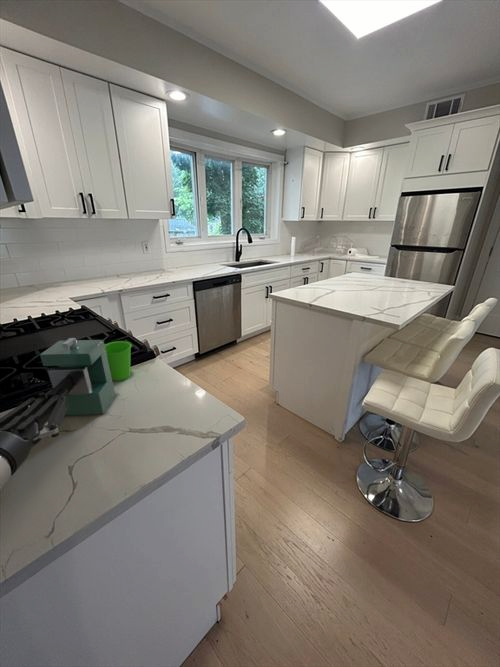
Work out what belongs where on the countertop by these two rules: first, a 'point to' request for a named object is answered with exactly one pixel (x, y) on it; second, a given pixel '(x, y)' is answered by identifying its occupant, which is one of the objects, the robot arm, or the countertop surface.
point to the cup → (119, 359)
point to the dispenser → (98, 370)
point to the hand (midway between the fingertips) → (68, 383)
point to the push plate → (72, 378)
